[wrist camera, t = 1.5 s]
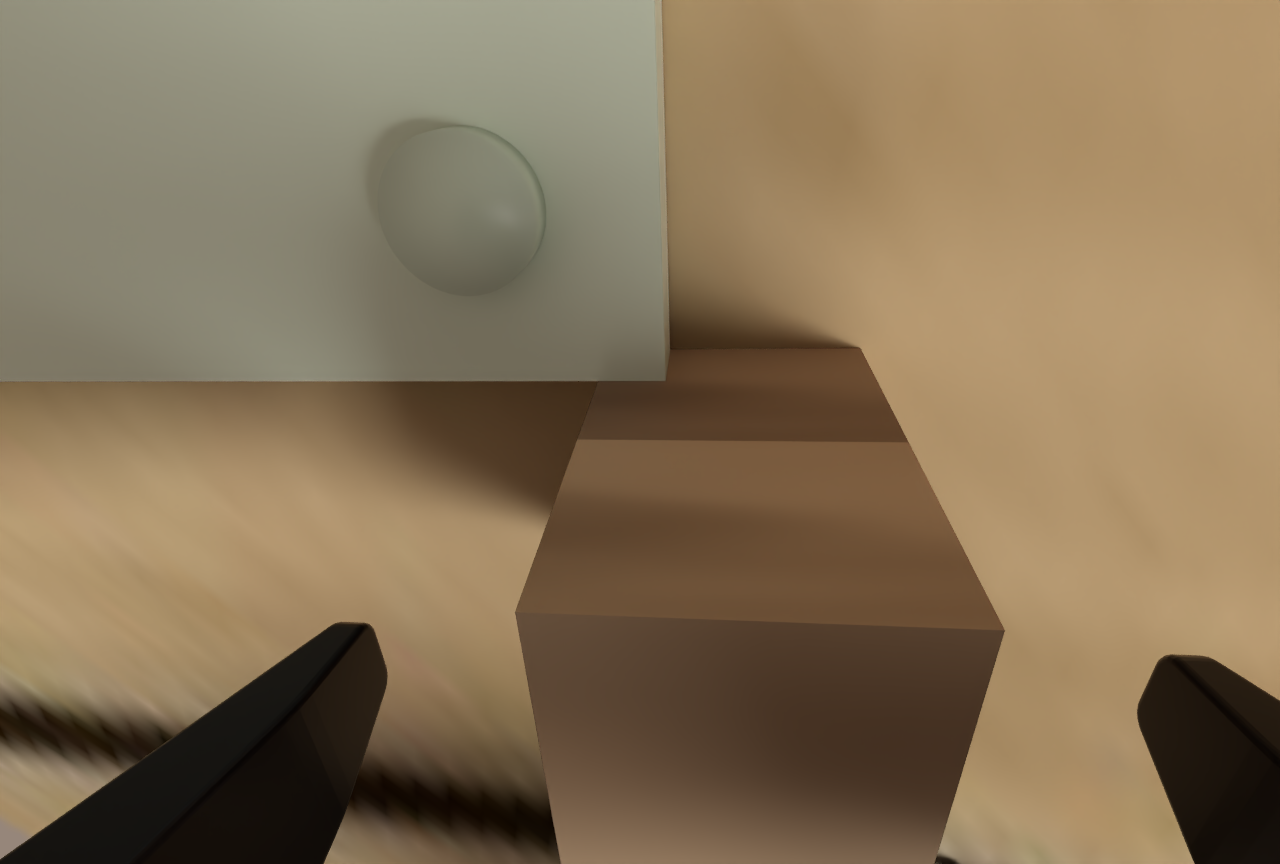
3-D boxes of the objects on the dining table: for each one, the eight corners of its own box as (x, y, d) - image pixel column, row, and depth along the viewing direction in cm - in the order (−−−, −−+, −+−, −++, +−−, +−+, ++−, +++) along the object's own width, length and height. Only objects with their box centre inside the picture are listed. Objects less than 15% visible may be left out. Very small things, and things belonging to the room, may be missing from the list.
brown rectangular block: (835, 547, 12) (923, 899, 7) (623, 542, 13) (562, 870, 8) (860, 347, 11) (1003, 630, 5) (609, 348, 11) (515, 612, 6)
